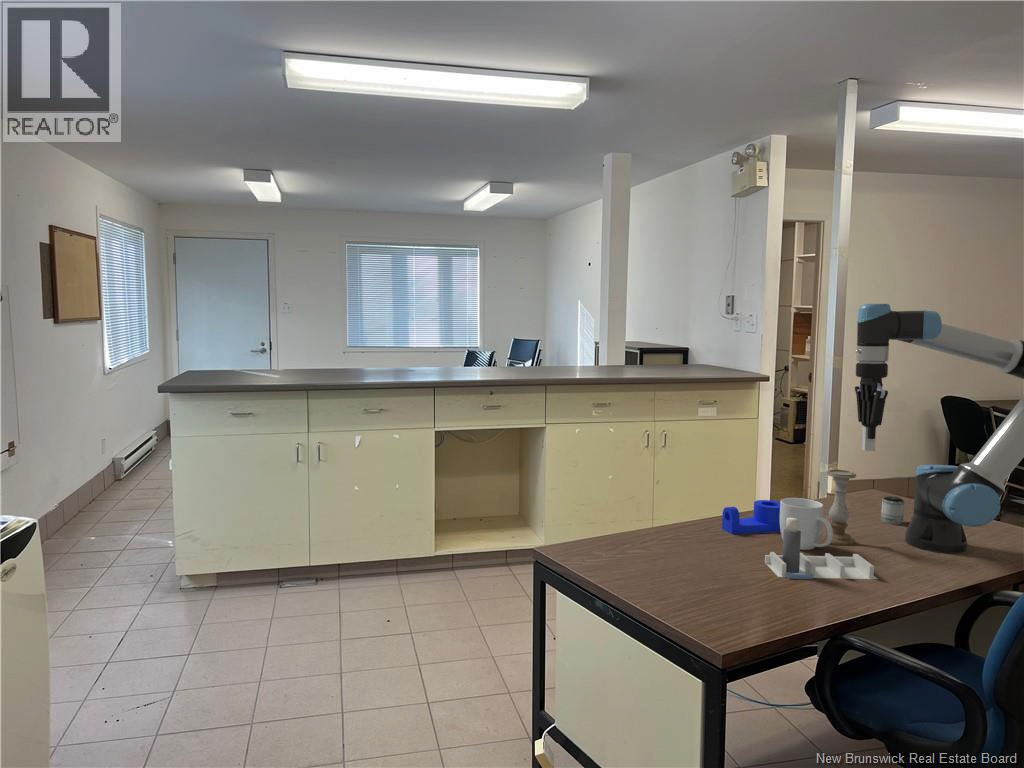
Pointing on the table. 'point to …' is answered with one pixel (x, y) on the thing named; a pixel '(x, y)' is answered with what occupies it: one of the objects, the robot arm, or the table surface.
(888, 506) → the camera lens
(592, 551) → the table surface
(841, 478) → the candle holder
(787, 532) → the two-tone capped cylinder
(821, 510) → the mug
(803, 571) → the white compartment tray
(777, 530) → the bracket
